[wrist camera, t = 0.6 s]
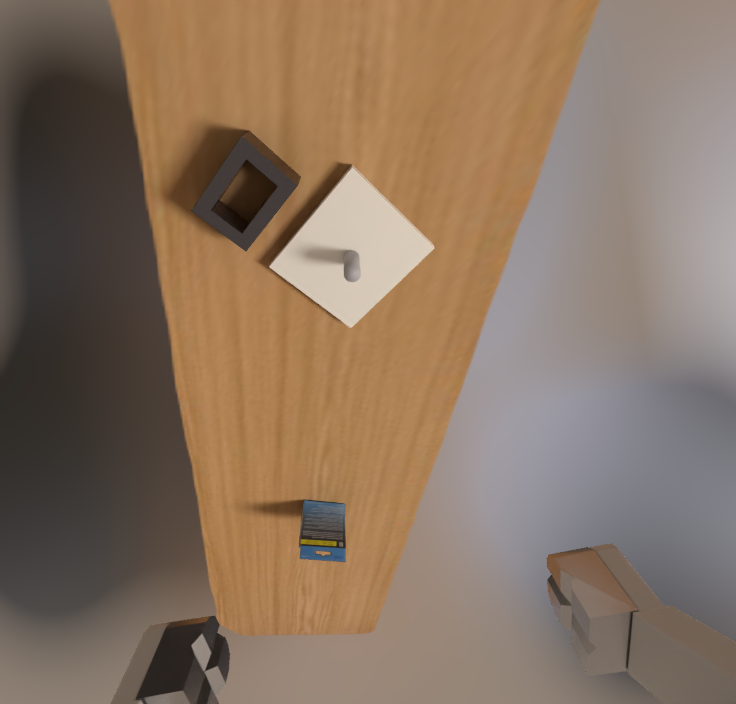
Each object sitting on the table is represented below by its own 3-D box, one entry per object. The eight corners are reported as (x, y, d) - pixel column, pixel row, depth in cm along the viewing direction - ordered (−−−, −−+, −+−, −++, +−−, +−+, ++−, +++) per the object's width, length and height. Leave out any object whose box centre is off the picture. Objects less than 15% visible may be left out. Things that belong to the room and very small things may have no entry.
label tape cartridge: (301, 509, 85) (295, 569, 75) (303, 498, 83) (298, 558, 73) (342, 513, 87) (342, 572, 77) (345, 502, 84) (346, 562, 74)
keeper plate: (352, 164, 46) (353, 177, 41) (432, 243, 52) (442, 263, 47) (270, 262, 52) (262, 284, 47) (350, 322, 58) (351, 348, 53)
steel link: (249, 130, 43) (241, 136, 40) (300, 176, 46) (297, 185, 43) (201, 200, 47) (191, 211, 44) (252, 239, 50) (246, 251, 47)
